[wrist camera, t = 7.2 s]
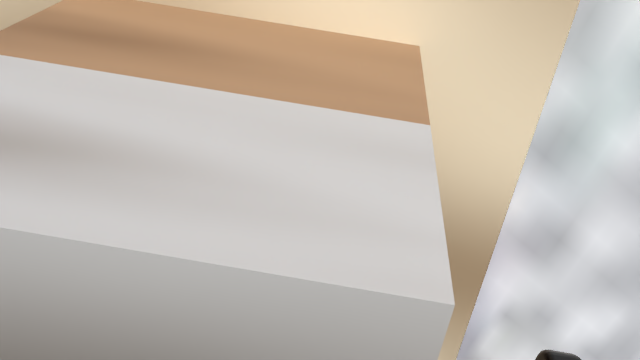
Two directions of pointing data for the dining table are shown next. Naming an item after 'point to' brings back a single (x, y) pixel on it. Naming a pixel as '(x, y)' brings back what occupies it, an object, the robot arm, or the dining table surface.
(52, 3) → the cream slab
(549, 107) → the dining table surface
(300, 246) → the housing
